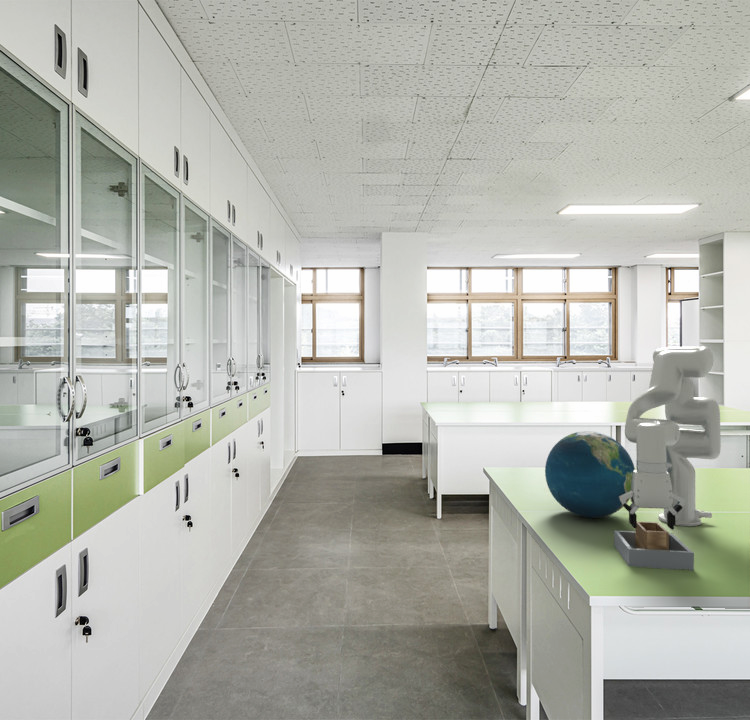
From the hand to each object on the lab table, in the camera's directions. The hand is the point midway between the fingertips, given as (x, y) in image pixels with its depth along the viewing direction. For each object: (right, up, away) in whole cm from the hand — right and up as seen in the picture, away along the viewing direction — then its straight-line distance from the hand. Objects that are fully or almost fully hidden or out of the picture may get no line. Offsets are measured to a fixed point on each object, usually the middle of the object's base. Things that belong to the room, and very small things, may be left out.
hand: (651, 527), depth 152 cm
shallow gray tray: (0, -9, 0) cm, 9 cm away
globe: (-2, -8, +38) cm, 39 cm away
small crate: (0, -8, 0) cm, 8 cm away
